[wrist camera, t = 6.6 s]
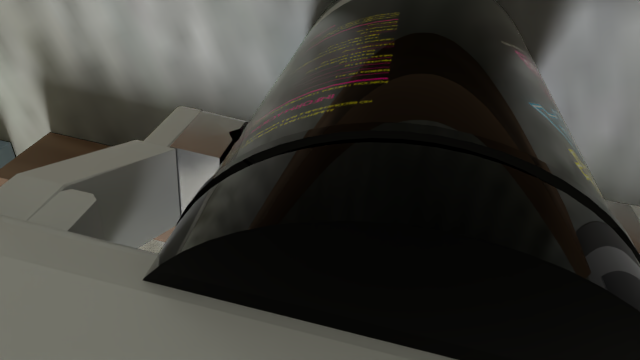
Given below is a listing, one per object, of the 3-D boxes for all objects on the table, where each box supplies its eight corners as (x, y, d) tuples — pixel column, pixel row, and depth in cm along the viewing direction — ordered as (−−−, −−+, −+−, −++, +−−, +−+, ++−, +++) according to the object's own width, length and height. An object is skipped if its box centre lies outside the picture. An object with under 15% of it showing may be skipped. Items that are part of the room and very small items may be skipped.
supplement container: (413, 206, 16) (399, 565, 8) (261, 94, 15) (53, 394, 7) (580, 71, 13) (876, 490, 4) (396, -97, 11) (305, 46, 3)
